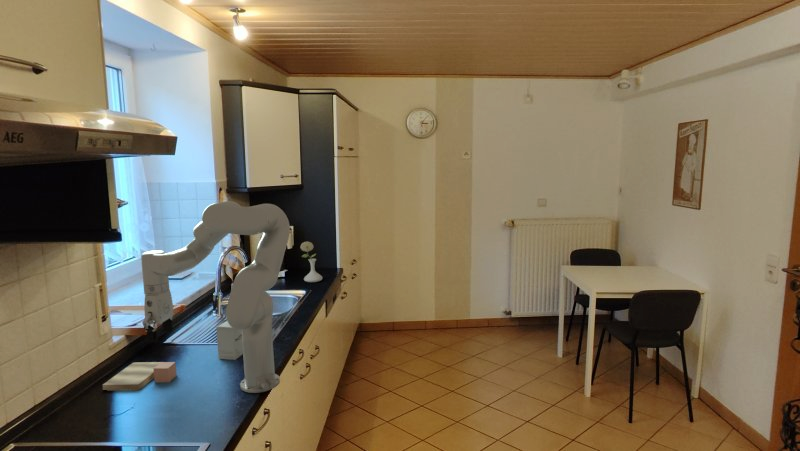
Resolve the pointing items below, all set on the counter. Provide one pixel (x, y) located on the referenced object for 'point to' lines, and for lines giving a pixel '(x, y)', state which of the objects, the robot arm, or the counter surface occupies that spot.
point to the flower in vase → (313, 275)
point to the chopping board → (132, 377)
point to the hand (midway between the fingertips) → (160, 336)
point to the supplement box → (229, 342)
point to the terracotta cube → (165, 372)
